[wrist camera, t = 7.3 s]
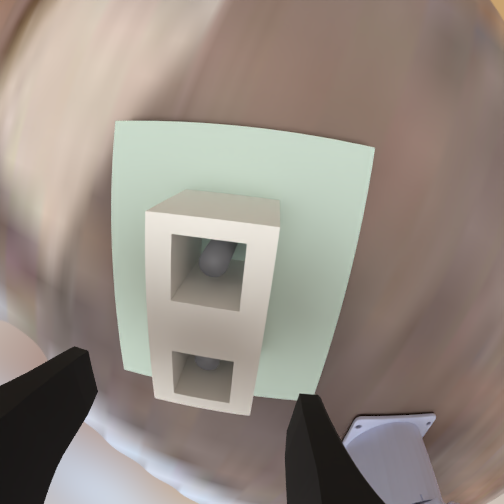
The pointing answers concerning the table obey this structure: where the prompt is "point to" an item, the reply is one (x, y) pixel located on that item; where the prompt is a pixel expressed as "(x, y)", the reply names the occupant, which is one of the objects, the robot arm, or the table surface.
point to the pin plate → (221, 252)
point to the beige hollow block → (208, 297)
